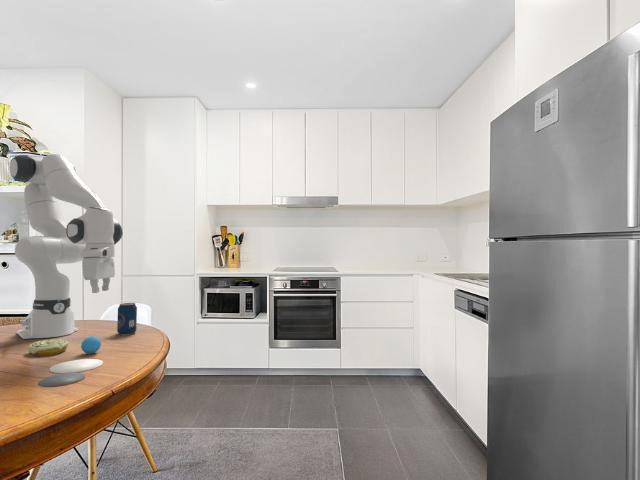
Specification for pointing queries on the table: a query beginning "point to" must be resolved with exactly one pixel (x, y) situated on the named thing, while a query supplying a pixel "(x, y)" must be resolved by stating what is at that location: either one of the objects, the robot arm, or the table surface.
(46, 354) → the decorated donut
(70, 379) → the disc
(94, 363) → the disc
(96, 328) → the table surface
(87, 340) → the ball
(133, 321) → the soda can
